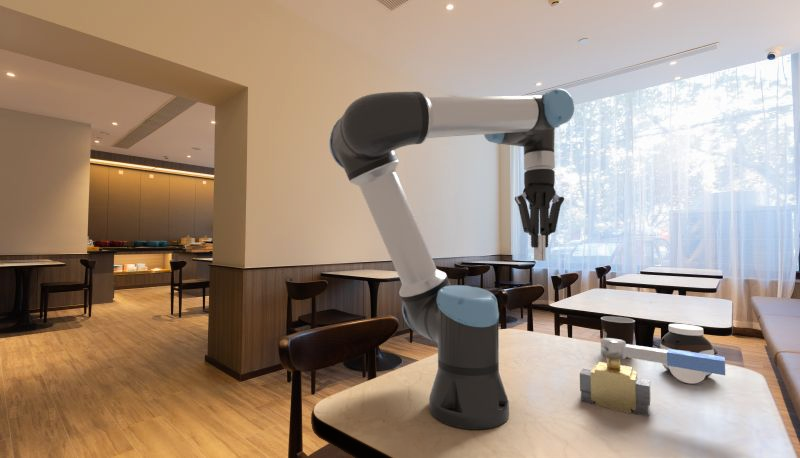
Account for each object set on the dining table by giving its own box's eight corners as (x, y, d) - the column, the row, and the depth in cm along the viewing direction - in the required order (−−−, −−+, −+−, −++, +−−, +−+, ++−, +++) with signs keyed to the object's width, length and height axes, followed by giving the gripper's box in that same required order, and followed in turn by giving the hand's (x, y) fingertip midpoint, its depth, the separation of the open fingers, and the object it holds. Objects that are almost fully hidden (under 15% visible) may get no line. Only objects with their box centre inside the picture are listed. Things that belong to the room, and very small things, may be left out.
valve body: (579, 401, 76) (578, 354, 76) (584, 391, 80) (583, 348, 81) (649, 417, 69) (648, 366, 69) (651, 405, 73) (649, 357, 74)
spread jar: (696, 369, 94) (694, 323, 95) (734, 386, 83) (732, 334, 83) (648, 369, 95) (646, 323, 95) (680, 386, 83) (678, 334, 84)
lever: (603, 351, 78) (603, 336, 78) (724, 371, 66) (724, 354, 66) (598, 356, 75) (598, 341, 75) (725, 378, 62) (724, 360, 62)
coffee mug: (634, 361, 101) (633, 324, 101) (599, 355, 106) (598, 320, 107) (638, 350, 110) (637, 317, 111) (605, 346, 116) (604, 313, 116)
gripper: (554, 174, 102) (555, 259, 101) (509, 172, 100) (509, 259, 99) (571, 168, 95) (571, 261, 94) (522, 166, 93) (522, 260, 92)
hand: (539, 260), depth 96 cm, fingers closed
